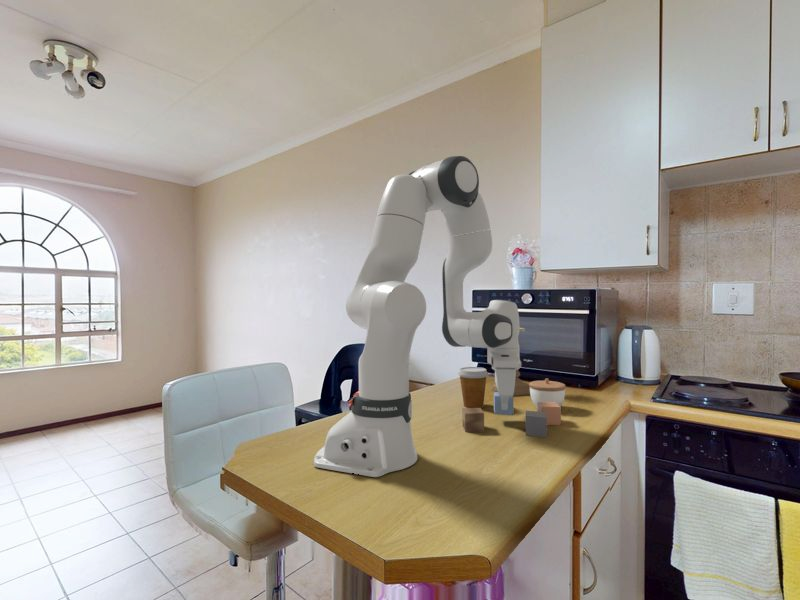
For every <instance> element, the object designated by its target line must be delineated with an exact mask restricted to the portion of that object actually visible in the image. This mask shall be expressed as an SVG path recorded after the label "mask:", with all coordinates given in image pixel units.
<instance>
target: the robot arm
mask: <svg viewBox="0 0 800 600" xmlns="http://www.w3.org/2000/svg"><path fill="white" fill-rule="evenodd" d="M473 163H474V162H472V160H470V159H469V158H468V157H466V156H463V155H454V156H448V157H446V158H445V159H442V160H438V161H435V162H431V163H427V164H426V165H423V166H421V167H420V168H418V169H416V170H414V171H411V172H410V173H408V174H405V173H404V174H397V175H395V176H393V177H392V178H391V179H390V180H389V181H387V184H386V187H385V189H384V191H383V194H382V196H381V199H380V202H379V205H378V209H377V213H376V217H375V221H374V226H373V230H372V235H371V239H370V240H371V241H370V244H369V248H368V250H367V254H366V257H365V260H364V262H363V265H362V267H361V269H360V271H359V274H358V277H357V280H356V282H355V285H354V287H353V289H352V291H351V292H350V293H349V295H348V297H347V299H346V303H345V310H346V315H347V316H348V318H349V320H350V321H352V322H353V323H354V324H355V325H356V326H358V327H359V328H361V329H364V330H367V331H366V336H365V342H364V347H363V351H362V353H361V354H360V356H359V358H358V391H356V392H355V393H354V394H353V395H352V396H353V397H351V398H350V400H349V401H348V403H349V404H348V407H349V408H350V410H351V411H350V412H348V413H347V414H346V415H344V417H342V418H340V420H339V421H338V422H336V423H335V424H334V425H333V426H331V428H330V429H329V430H328V432H327V434H326V438H325V442H324V446H322V447H321V448H320V449H319V450H318V451H317V452H316V454H315V455H314V457H313V458H314V459H313V465H314V467H315V468H318V469H319V468H320V469H324V470H325V469H326V470H331V471H337V472H341V473H342V472H343V473H347V474H352V473H354V474H353V475H358V474H359V475H360V476H365V477H370V478H371V477H372V478H379V477H382V476H384V475H387V474H389V473H392V472H397V471H400V470H401V471H402V470H404V469H407V468H409V467H411V466H412V465H414V464H416V462H417V460H418V454H417V451H416V450H417V449H416V448H415V447H416V446H415V443H414V442H415V441H414V437H413V432H412V431H413V430H412V425H411V420H412V418H413V415H412V414H413V406H412V405H413V403H412V402H413V401H412V395H411V393H410V367H409V364H410V354H411V350H412V346H413V342H414V337H415V335H416V331H417V329H418V328H419V326H420V325H421V323H423V321H424V319H425V317H426V312H427V301H426V298H425V296H424V294H423V292H422V291H421V289H420V288H418V287H417V286H415V285H413V284H411V283H410V282H409V283H408V282H406V281H405V280H406V279H407V276H408V275H409V273H410V272H411V270H412V268H413V267H414V266H415V265H416V263H417V261H418V259H419V254H420V248H421V243H422V238H423V233H424V228H425V223H426V215H427V213H428V212H432V211H438V210H439V211H440V212H441V213H442V215H443V216H444V218H445V224H446V225H445V226H446V234H447V240H448V242H447V243H448V250H447V255H446V258H445V259H444V260H443V265H442V273H441V274H442V301H443V302H442V304H443V310H442V311H443V318H442V325H441V332H442V335H443V337H444V339H445V341H446V343H447V344H448V345H450V346H451V347H454V348H457V347H458V348H460V347H461V348H462V347H463V348H464V347H466V348H467V347H469V348H479V349H480V348H483V349H487V352H486V353H487V359H486V361H487V364H489V365H491V369H492V370H493V371H494V384H495V383H496V387H497V390H498V393H499V396H500V397H501V409H502V410H507V409H508V400H509V398H512V397H513V398H514V396H513V395H514V388H515V377H516V368H518V364H520V361H521V358H520V355H521V354H520V351H521V350H520V349H521V348H520V344H519V343H520V342H519V335H520V332H519V331H520V330H519V328H520V315H519V309H518V305H517V303H516V302H514V301H513V300H509V299H493V300H490V302H489V304H488V306H487V307H486V308H485V309H483V310H481V311H478V312H477V311H475V312H474V311H466V309H465V308H464V281H465V278H466V276H468V274H469V273H470V272H472V271H473V270H475V269H477V268H478V267H480V266H482V264H484V263H485V262H486V261H487V260H488V258H489V256H490V255H491V253H492V251H493V236H492V235H493V234H492V230H491V224H490V219H489V215H488V210H487V209H486V204H485V201H484V199H483V197H482V194H481V193H480V192H479V187H480V178H479V177H480V176H479V172H478V170H477V168H476V166H475V164H473Z"/></svg>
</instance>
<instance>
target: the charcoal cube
mask: <svg viewBox="0 0 800 600" xmlns="http://www.w3.org/2000/svg"><path fill="white" fill-rule="evenodd" d="M524 419H525V436H529V437H530V436H531V437H541V438H547V437H548V435H547V431H548V430H547V425H546V412H538V410H537V411H536V410H525V416H524Z"/></svg>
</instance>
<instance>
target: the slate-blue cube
mask: <svg viewBox="0 0 800 600" xmlns="http://www.w3.org/2000/svg"><path fill="white" fill-rule="evenodd" d="M493 412H494V415H501V416H502V415H504V416H505V415H506V416H514V396H513V397H512V398H509V400H508V409H507V410H502V409H501V397H500V396H499V393H498V392H495V391H493Z"/></svg>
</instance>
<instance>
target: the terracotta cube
mask: <svg viewBox="0 0 800 600" xmlns="http://www.w3.org/2000/svg"><path fill="white" fill-rule="evenodd" d="M537 405H538V408H537V411H538V412H546V426H547V425H548V426H549V425H550V426H551V425H553V426H554V425H555V426H557V425H558V426H561V425H562V411H561V410H562V407H561V406H559V405H558V404H557V403H556V402H537Z"/></svg>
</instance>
